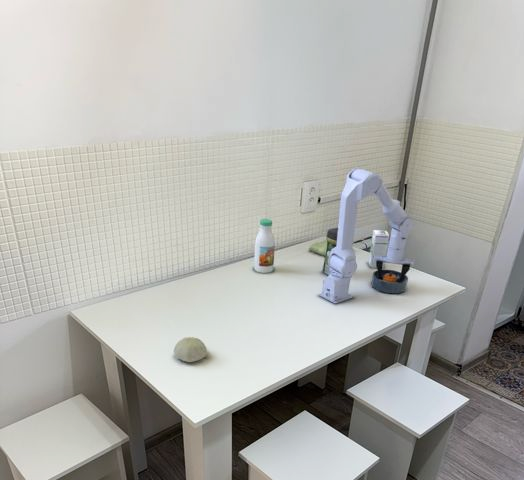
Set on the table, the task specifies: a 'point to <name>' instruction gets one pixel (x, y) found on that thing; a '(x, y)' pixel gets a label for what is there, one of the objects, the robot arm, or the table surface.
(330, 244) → the coffee jar
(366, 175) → the robot arm
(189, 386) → the table surface
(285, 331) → the table surface
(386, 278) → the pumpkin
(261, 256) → the milk bottle
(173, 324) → the table surface
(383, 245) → the syrup box
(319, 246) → the washcloth
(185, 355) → the sea urchin shell
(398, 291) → the bowl
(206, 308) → the table surface
